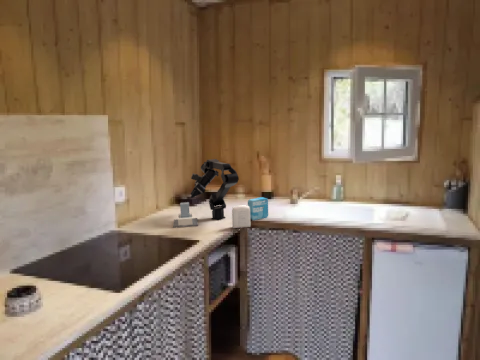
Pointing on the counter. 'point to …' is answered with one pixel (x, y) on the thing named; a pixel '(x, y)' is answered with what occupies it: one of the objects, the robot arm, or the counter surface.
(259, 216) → the data package
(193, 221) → the board
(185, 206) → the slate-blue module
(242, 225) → the photo printer
